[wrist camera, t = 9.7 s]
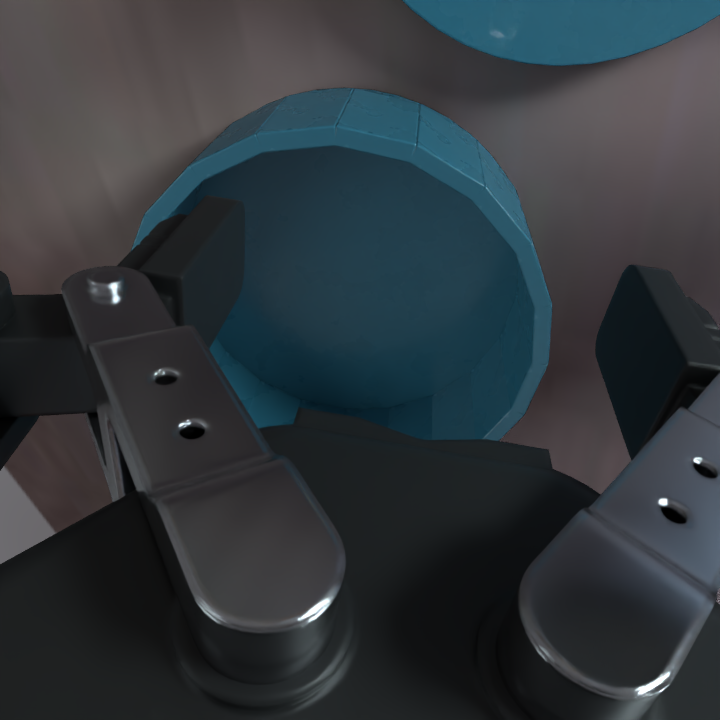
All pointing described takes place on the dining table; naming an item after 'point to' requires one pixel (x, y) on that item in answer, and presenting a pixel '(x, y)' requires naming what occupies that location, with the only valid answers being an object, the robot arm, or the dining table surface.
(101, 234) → the dining table surface
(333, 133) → the tin
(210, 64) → the dining table surface
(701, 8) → the tin lid
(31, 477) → the dining table surface
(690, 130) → the dining table surface
